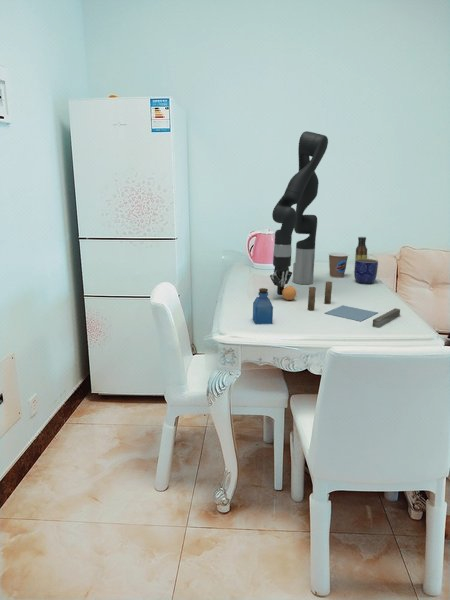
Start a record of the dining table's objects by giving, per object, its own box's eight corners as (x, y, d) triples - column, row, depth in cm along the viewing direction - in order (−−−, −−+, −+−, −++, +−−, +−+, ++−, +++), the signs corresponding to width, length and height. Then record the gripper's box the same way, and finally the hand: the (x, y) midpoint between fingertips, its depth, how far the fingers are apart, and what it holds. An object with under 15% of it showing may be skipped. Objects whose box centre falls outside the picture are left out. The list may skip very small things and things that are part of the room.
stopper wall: (372, 326, 163) (373, 319, 163) (394, 314, 178) (395, 308, 177) (377, 327, 162) (378, 320, 161) (399, 315, 177) (400, 309, 176)
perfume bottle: (252, 319, 170) (253, 287, 167) (269, 318, 171) (270, 287, 168) (255, 324, 164) (256, 291, 161) (272, 323, 165) (273, 291, 162)
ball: (278, 298, 197) (281, 285, 194) (285, 295, 201) (289, 282, 199) (289, 303, 193) (292, 290, 191) (297, 300, 198) (300, 288, 195)
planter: (379, 282, 232) (382, 260, 229) (369, 286, 224) (372, 263, 221) (359, 279, 239) (361, 257, 236) (349, 282, 231) (351, 260, 228)
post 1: (306, 309, 183) (307, 287, 180) (309, 308, 185) (311, 286, 182) (312, 310, 181) (313, 288, 179) (315, 309, 183) (317, 287, 181)
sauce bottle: (366, 272, 255) (369, 236, 250) (365, 274, 250) (369, 238, 245) (354, 271, 258) (357, 236, 252) (353, 273, 252) (356, 237, 247)
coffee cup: (335, 279, 238) (337, 256, 235) (322, 275, 247) (324, 253, 243) (351, 277, 242) (352, 254, 239) (337, 273, 251) (339, 252, 248)
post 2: (323, 303, 192) (324, 282, 190) (326, 302, 194) (327, 281, 192) (328, 304, 191) (330, 283, 188) (331, 303, 192) (333, 282, 190)
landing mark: (324, 313, 178) (324, 312, 178) (342, 305, 189) (342, 305, 189) (360, 321, 168) (360, 321, 168) (378, 313, 179) (378, 312, 179)
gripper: (284, 252, 201) (282, 290, 206) (265, 255, 192) (263, 295, 196) (298, 254, 196) (296, 293, 201) (279, 257, 187) (277, 299, 191)
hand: (280, 294), depth 198 cm, fingers closed
